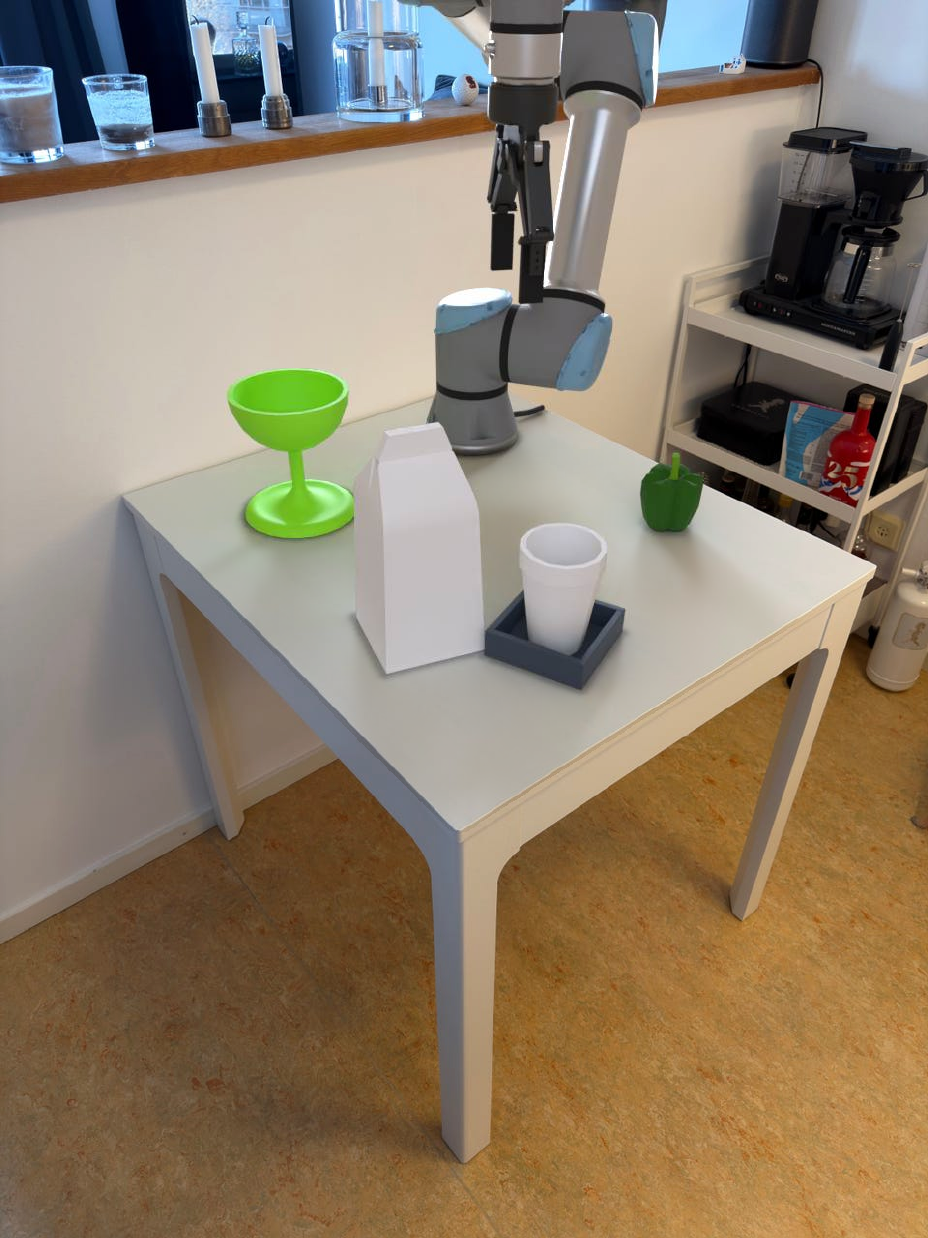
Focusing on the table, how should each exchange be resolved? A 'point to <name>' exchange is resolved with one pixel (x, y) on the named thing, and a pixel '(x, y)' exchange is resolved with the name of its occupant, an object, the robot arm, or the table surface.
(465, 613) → the milk
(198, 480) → the table surface
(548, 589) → the foam cup
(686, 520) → the bell pepper
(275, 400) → the wineglass
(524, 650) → the tray
